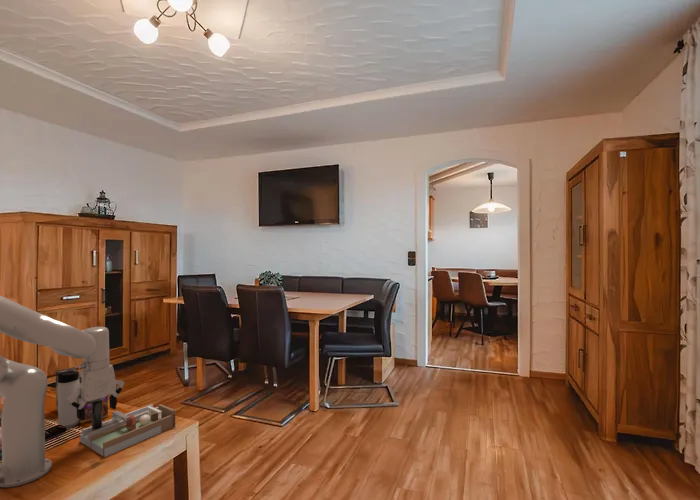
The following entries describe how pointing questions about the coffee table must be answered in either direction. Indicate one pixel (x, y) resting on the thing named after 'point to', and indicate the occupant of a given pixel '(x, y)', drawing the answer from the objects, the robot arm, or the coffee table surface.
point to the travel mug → (66, 387)
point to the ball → (144, 419)
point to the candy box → (89, 411)
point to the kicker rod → (116, 417)
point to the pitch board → (120, 437)
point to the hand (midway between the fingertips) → (97, 413)
